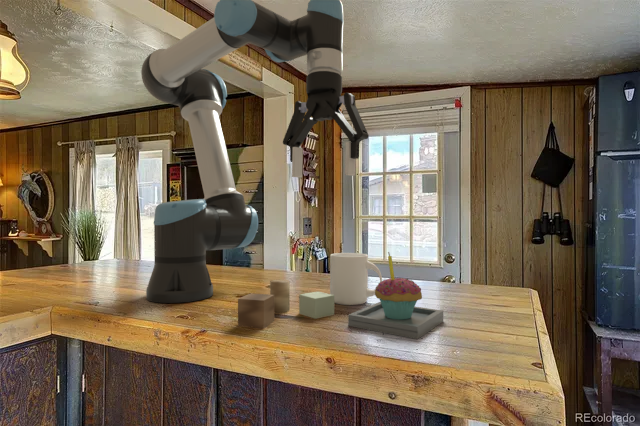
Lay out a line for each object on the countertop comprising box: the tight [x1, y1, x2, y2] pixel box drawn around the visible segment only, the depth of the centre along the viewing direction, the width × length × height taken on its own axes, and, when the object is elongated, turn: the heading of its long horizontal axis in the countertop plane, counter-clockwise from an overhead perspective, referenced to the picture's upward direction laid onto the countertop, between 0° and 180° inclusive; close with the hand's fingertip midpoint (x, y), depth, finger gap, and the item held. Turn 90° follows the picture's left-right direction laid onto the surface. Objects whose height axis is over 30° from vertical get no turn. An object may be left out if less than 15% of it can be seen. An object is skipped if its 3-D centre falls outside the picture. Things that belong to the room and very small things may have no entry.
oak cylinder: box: [269, 279, 291, 314], centre depth 83 cm, size 4×4×6 cm
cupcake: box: [374, 251, 423, 320], centre depth 74 cm, size 9×8×12 cm
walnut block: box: [237, 292, 275, 329], centre depth 73 cm, size 5×5×5 cm
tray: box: [347, 301, 444, 340], centre depth 73 cm, size 13×13×2 cm
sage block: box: [298, 290, 335, 319], centre depth 80 cm, size 5×5×4 cm
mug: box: [329, 252, 383, 306], centre depth 91 cm, size 9×12×11 cm
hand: (322, 176), depth 84 cm, fingers open, 13 cm apart
